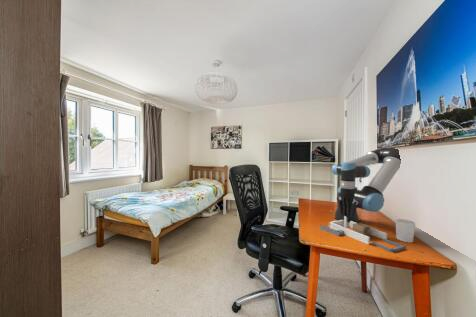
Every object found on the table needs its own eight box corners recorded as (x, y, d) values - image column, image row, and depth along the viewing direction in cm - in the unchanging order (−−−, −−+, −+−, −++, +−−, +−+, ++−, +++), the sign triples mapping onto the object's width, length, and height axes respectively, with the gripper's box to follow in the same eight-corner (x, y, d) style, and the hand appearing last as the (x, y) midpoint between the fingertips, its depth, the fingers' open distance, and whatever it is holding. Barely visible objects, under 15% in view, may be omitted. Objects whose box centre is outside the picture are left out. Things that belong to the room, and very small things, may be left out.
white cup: (414, 240, 102) (415, 221, 102) (414, 244, 96) (414, 225, 96) (395, 235, 108) (396, 217, 107) (394, 239, 102) (394, 221, 102)
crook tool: (324, 227, 118) (324, 224, 118) (343, 234, 108) (343, 230, 108) (319, 228, 116) (319, 225, 115) (338, 236, 105) (338, 232, 105)
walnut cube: (359, 233, 110) (359, 222, 110) (370, 237, 105) (370, 226, 105) (352, 234, 108) (352, 223, 108) (363, 238, 102) (363, 227, 102)
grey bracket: (384, 240, 100) (384, 238, 100) (405, 248, 92) (405, 246, 92) (372, 244, 96) (372, 241, 96) (392, 252, 88) (392, 250, 88)
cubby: (346, 224, 123) (346, 219, 123) (386, 239, 101) (387, 233, 101) (328, 227, 117) (328, 222, 117) (367, 244, 95) (368, 237, 95)
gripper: (333, 186, 119) (332, 224, 119) (353, 190, 107) (352, 231, 107) (342, 186, 122) (341, 222, 122) (362, 189, 110) (361, 230, 110)
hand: (346, 226), depth 115 cm, fingers closed
